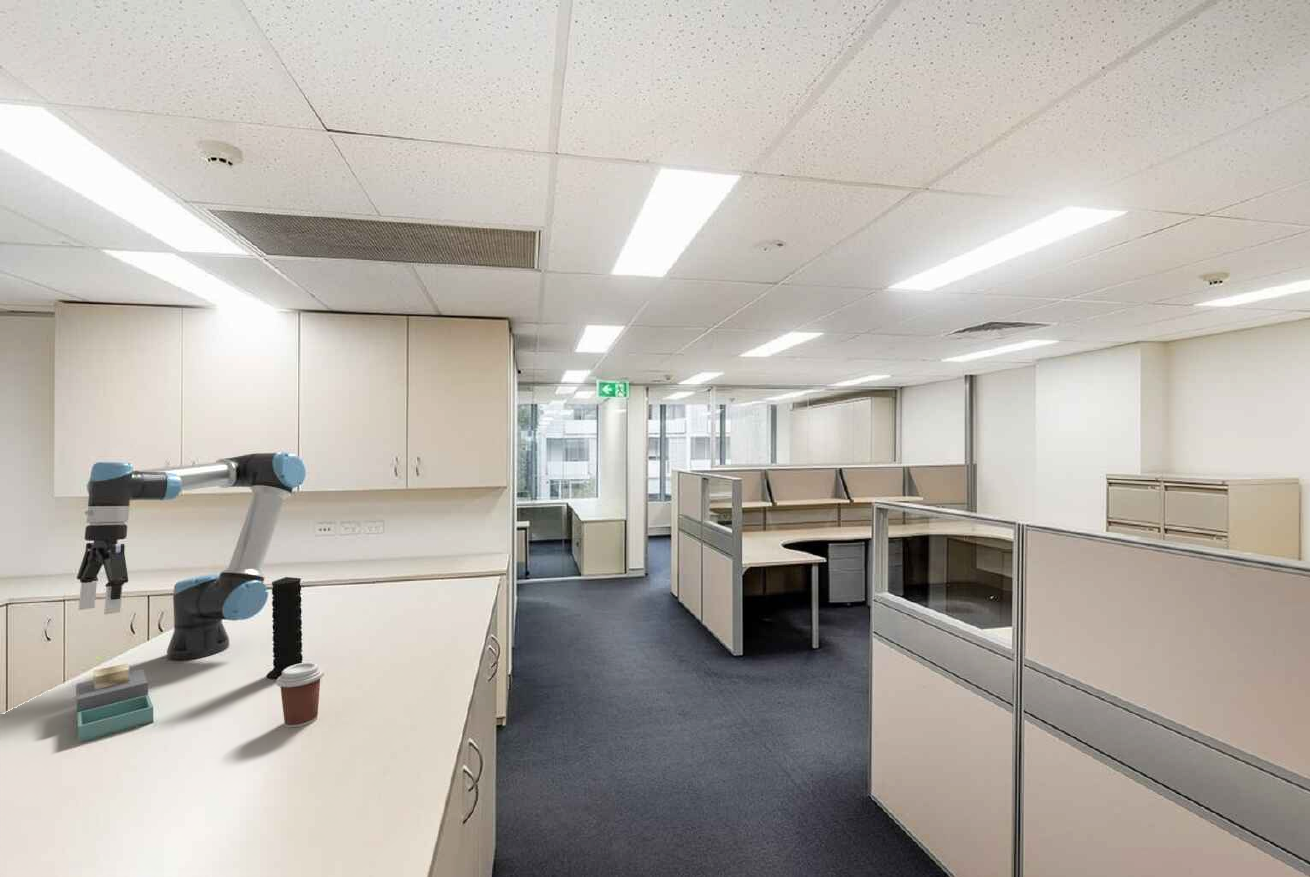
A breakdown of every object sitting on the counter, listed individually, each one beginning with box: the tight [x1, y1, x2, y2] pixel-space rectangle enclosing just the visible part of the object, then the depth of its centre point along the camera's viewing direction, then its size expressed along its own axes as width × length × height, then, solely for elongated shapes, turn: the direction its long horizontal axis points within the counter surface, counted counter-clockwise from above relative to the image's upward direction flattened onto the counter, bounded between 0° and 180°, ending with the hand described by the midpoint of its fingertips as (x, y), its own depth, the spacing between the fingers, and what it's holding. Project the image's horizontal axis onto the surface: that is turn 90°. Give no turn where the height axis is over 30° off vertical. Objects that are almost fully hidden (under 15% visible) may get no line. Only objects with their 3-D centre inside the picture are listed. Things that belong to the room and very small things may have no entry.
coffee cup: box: [276, 661, 325, 729], centre depth 128 cm, size 9×9×12 cm
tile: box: [93, 663, 130, 690], centre depth 138 cm, size 6×6×3 cm
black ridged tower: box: [265, 576, 304, 680], centre depth 157 cm, size 10×26×10 cm
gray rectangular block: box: [75, 668, 149, 726], centre depth 137 cm, size 12×13×6 cm
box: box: [77, 694, 154, 744], centre depth 128 cm, size 12×10×4 cm
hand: (99, 611), depth 139 cm, fingers open, 13 cm apart
